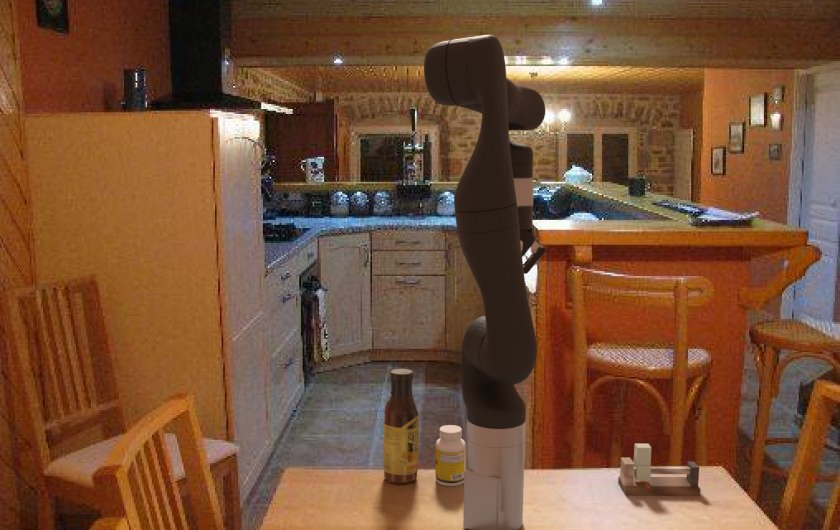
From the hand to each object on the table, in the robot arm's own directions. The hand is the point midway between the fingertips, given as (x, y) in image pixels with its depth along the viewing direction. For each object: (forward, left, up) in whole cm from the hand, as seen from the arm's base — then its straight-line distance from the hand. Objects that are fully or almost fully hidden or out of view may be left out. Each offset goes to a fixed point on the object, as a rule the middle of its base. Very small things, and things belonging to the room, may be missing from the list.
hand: (509, 295), depth 152 cm
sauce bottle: (-18, +12, -32) cm, 39 cm away
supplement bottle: (-14, +4, -32) cm, 35 cm away
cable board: (+3, -28, -32) cm, 43 cm away
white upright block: (+2, -26, -30) cm, 39 cm away
